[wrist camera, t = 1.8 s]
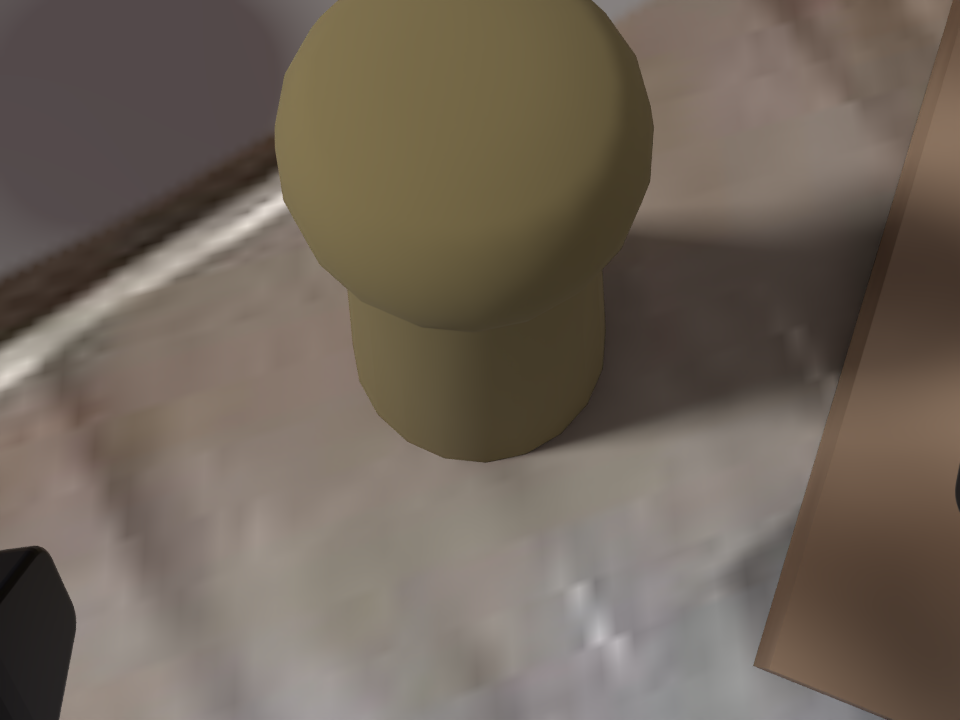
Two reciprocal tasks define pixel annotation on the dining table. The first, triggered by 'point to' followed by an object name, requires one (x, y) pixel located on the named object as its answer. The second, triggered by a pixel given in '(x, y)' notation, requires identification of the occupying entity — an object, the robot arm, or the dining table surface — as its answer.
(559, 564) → the dining table surface
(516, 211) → the cork
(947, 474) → the walnut board
